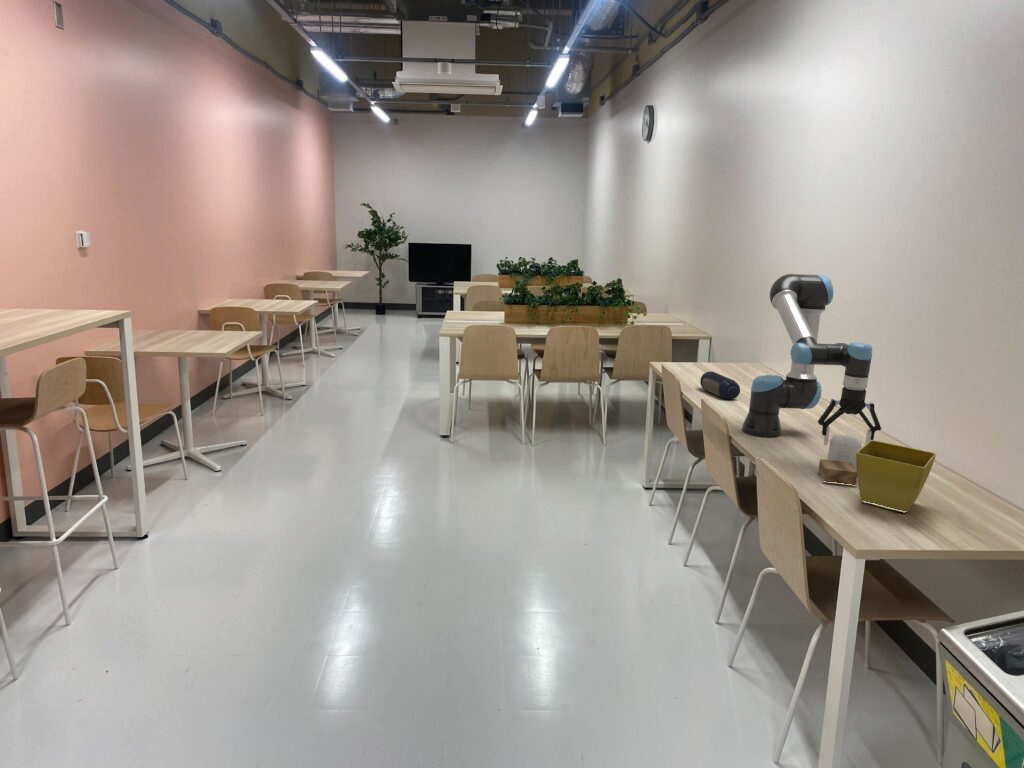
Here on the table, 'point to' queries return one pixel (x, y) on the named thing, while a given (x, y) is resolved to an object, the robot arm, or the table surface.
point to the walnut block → (837, 471)
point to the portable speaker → (720, 385)
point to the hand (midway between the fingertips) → (845, 446)
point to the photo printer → (844, 449)
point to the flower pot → (892, 473)
